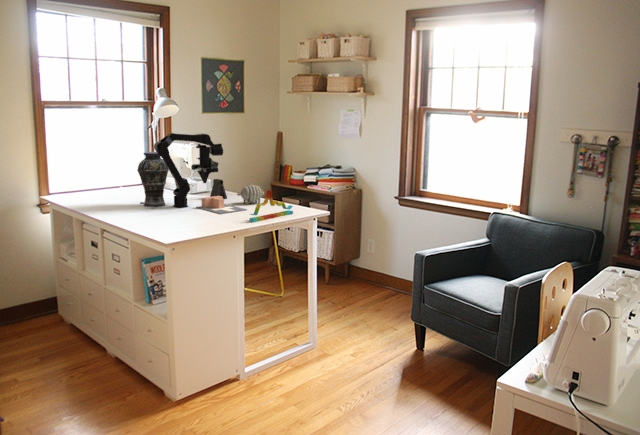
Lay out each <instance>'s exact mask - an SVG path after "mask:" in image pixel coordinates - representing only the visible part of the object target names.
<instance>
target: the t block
mask: <svg viewBox="0 0 640 435" xmlns="http://www.w3.org/2000/svg"><path fill="white" fill-rule="evenodd" d="M224 204H225V199H223V196H213V197H210V196H206V197H201V206H202V207H205V208H206V207H215V208H224Z"/></svg>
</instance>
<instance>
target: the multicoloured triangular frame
mask: <svg viewBox="0 0 640 435" xmlns="http://www.w3.org/2000/svg"><path fill="white" fill-rule="evenodd" d="M268 203H269V204H270V205H269V206H271V207H275V206H277V207H282V209H283V210H282V211H279V212H275V213H269V214H263V215H259V216H258V214H259V211H260V208H261V206H266V205H267V204H268ZM293 206H294V205H290V204H289V205H288V206H286V204H285V202H284V201H278V200H274V199H273V194H272V190H268V189H267V190H266V193H265V197H264V200H263V202H262V203H261V202H260V204H259V203H257V204H256V205H255V209H254V212H253V213H249V215H252V216H254V217H249V222H250V223H256V222H262V221H266V220H271V219H275V218H281V217H286V216H288V215H293V214H294V210H291V209H292V208H293Z"/></svg>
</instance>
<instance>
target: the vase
mask: <svg viewBox="0 0 640 435" xmlns="http://www.w3.org/2000/svg"><path fill="white" fill-rule="evenodd" d="M143 155H144V156H145V158H144V159H141V161H140V162H139V163H138V165H137V172H138V173H137V174H138V175H139V177H140V180H141V181H140V182H141V184H142V186H143V189H144V195H145V198H144V203H143V207H145V208H161V207H165V206H166V202H165V198H164V192H165V190H164V188H165V185H166V184H167V177H168V173H169V172H170V171H169V169H168V167H167V165H166V164H165V162H164V160H163V158H162V157H161V156H160V155H159V154H158V153H157V152H156V151H145V152H143Z"/></svg>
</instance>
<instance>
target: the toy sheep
mask: <svg viewBox="0 0 640 435" xmlns="http://www.w3.org/2000/svg"><path fill="white" fill-rule="evenodd" d="M236 195H237V196H241V198H242V199H243V204H246V205H249V203H257V204H261V198H263V197H264V195H265V192H264V190H263V189H261V186H259V185H255V184H249V185H246V186H243V187H242V189H241V191H240V192H237V194H236Z"/></svg>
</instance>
